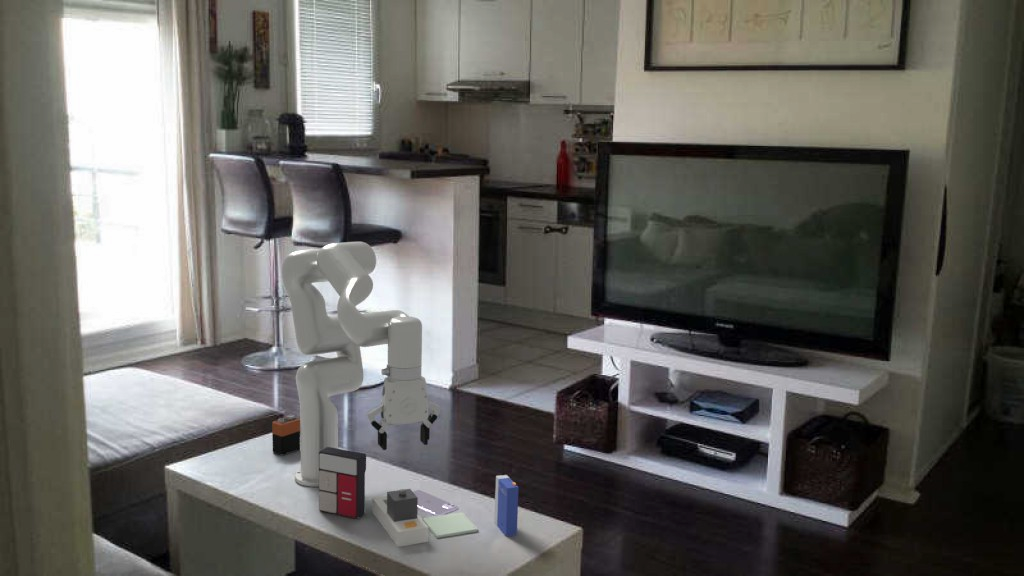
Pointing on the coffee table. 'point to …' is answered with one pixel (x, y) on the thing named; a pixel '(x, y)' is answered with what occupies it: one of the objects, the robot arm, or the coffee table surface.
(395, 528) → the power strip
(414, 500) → the grey knobbed block
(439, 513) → the mobile phone
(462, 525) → the mat
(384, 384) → the robot arm
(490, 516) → the coffee table surface
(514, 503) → the walkman
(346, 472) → the red grey panelled box
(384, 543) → the coffee table surface
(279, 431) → the battery
